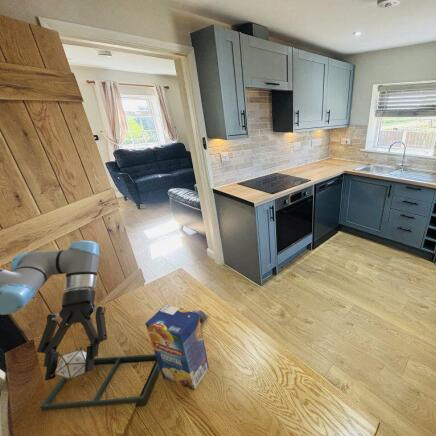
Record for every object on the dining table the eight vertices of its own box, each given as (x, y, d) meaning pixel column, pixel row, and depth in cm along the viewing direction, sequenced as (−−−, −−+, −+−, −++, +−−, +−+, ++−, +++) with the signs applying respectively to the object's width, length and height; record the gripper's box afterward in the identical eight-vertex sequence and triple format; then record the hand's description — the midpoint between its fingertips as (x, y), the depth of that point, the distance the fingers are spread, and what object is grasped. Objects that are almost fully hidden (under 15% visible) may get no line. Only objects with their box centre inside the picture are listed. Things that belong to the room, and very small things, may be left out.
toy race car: (178, 310, 101) (175, 298, 98) (207, 321, 96) (205, 308, 94) (159, 327, 93) (156, 315, 90) (190, 340, 88) (187, 327, 85)
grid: (45, 414, 66) (39, 407, 64) (80, 366, 78) (76, 359, 77) (145, 405, 68) (143, 398, 67) (164, 360, 81) (162, 353, 79)
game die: (84, 385, 70) (68, 388, 62) (54, 377, 69) (34, 378, 61) (105, 351, 75) (93, 350, 67) (78, 343, 74) (62, 341, 66)
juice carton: (209, 367, 79) (198, 314, 69) (194, 390, 72) (180, 334, 62) (179, 357, 82) (165, 304, 72) (162, 378, 75) (144, 323, 66)
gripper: (124, 286, 79) (119, 363, 71) (47, 297, 74) (33, 381, 66) (113, 284, 72) (106, 368, 65) (27, 296, 67) (10, 389, 59)
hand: (69, 374), depth 65 cm, fingers closed on game die, 8 cm apart
